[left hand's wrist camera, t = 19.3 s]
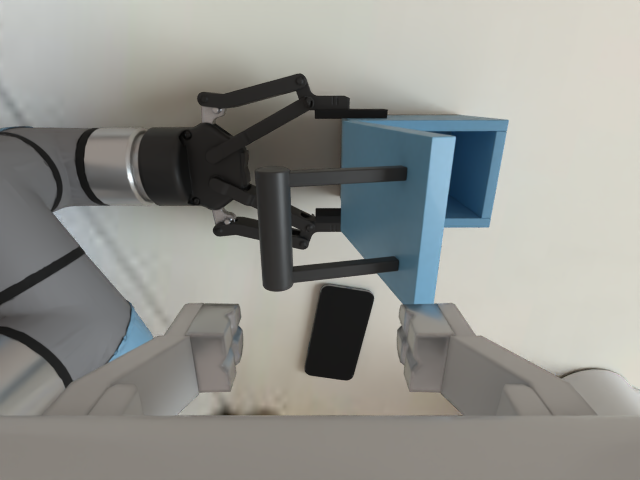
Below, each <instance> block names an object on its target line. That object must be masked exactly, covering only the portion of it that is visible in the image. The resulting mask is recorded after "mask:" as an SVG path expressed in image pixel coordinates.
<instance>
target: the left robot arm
mask: <svg viewBox="0 0 640 480" xmlns="http://www.w3.org/2000/svg"><path fill="white" fill-rule="evenodd" d="M240 319H241V311H240V306H239V304H214V303H205V304H204V303H188V304H185V305H184V307H183V308H182V309H181V311H180V312H179V314H178V315H177V317H176V318H175V320H174V321H173V323H172V324H171V326H170V327H169V329H168V330H167V332H166V333H165V335H164V336H157V337H155V338H153V339H152V340H150V341H148V342H146V343H144V344H142V345H140V346H138V347H137V348H135V349H133V350H131V351H129V352H127V353H125V354H124V355H122V356H120V357H118V358H116V359H114V360H112V361H111V362H109V363H107V364H105V365H103V366H101V367H99V368H97V369H96V370H94V371H92V372H90V373H88V374H86V375H84V376H83V377H81V378H79V379H77V380H75V381H73V382H71V383H70V384H69V385H68V387H67V388H66V389H65V390H64V391H63V392H62V393H61V394H60V395H59V397H58V398H57V399H56V400H55V401H54V402H53V403H52V404H51V406H50V407H49V408H48V409H47V410H46V411H45V412H44V413H43V415H42V416H0V480H640V390H638V389H635V388H633V387H631V385H630V384H629V383H628V382H627V381H626V380H625V378H623V377H622V376H621V375H619V374H617V373H615V372H612V371H608V370H601V369H592V370H584V371H580V372H576V373H573V374H570V375H568V376H565V377H563V378H562V379H561V378H559V377H557V376H555V375H553V374H552V373H550V372H548V371H546V370H544V369H542V368H540V367H539V366H537V365H535V364H533V363H531V362H529V361H527V360H526V359H524V358H522V357H520V356H518V355H516V354H514V353H513V352H511V351H509V350H507V349H505V348H503V347H501V346H500V345H498V344H496V343H494V342H492V341H490V340H488V339H487V338H485V337H483V336H476V335H475V333H474V332H473V330H472V329H471V327H470V326H469V324H468V323H467V322H466V320H465V319H464V317H463V316H462V314H461V313H460V311H459V310H458V308H457V307H456V305H455V304H453V303H438V304H402V305H401V306H400V310H399V319H400V322H401V325H402V326H401V327H400V328H399V329H398V330H397V350H398V356H399V359H400V362H401V363H402V364H403V365H405V367H404V376H405V379H406V382H407V385H408V388H409V391H410V392H441V394H442V395H443V396H444V397H445V398H446V399H447V400H448V401H449V402H450V403H451V404H452V405H453V406H454V407H455V408H457V409H458V410H459V411H460V412H461V413H462V414H463V415H464V416H176V415H177V414H178V413H179V412H180V411H182V410H183V409H184V408H185V407H186V406H187V405H188V404H189V403H190V402H191V401H192V400H193V399H194V398H195V397H196V396H197V395H199V392H231V388H232V385H233V382H234V379H235V376H236V367H235V365H237V364H238V363H239V362H240V359H241V356H242V349H243V330H242V329H241V328H240V327H239V326H238V325H239V322H240Z"/></svg>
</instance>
